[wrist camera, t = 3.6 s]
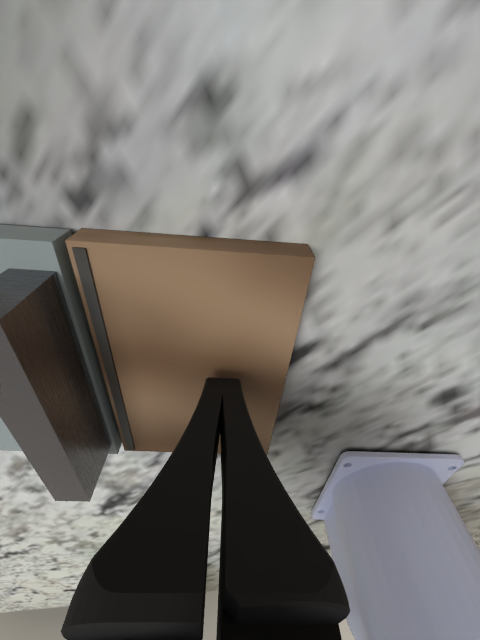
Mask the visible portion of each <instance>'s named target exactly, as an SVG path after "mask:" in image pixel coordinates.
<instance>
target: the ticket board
mask: <svg viewBox="0 0 480 640" xmlns="http://www.w3.org/2000/svg"><path fill="white" fill-rule="evenodd" d="M65 242H66V245H67V249H68V253H69V256H70V260H71V263H72V267H73V270H74V274H75V277H76V281H77V284H78V288H79V291H80V295H81V298H82V302H83V305H84V309H85V313H86V316H87V320H88V323H89V327H90V330H91V334H92V337H93V341H94V344H95V348H96V351H97V355H98V358H99V362H100V365H101V369H102V372H103V376H104V380H105V383H106V387H107V390H108V394H109V397H110V401H111V404H112V408H113V411H114V415H115V418H116V422H117V425H118V429H119V432H120V436H121V440H122V443H123V447H124V450H126V451H159V452H173V451H174V449H175V447H176V446H177V444H178V442H179V441H180V439H181V437H182V435H183V433H184V431H185V429H186V428H187V426H188V424H189V422H190V420H191V417H192V415H193V413H194V411H195V409H196V407H197V404H198V402H199V399H200V397H201V394H202V391H203V388H204V385H205V380H206V379H207V378H208V377H214V378H237V379H239V380H240V381H241V387H242V392H243V396H244V400H245V403H246V406H247V409H248V412H249V415H250V418H251V421H252V423H253V426H254V428H255V431H256V433H257V436H258V438H259V440H260V442H261V445H262V447H263V449H264V451H265V453H266V455H267V454H268V450H269V445H270V441H271V437H272V433H273V429H274V425H275V421H276V417H277V413H278V409H279V404H280V400H281V396H282V392H283V388H284V384H285V380H286V376H287V372H288V367H289V363H290V359H291V355H292V351H293V347H294V343H295V339H296V335H297V331H298V326H299V322H300V318H301V314H302V310H303V306H304V302H305V298H306V294H307V290H308V285H309V281H310V277H311V273H312V269H313V265H314V261H315V256H314V254H313V253H312V251H311V249H310V247H309V246H308V244H297V243H283V242H269V241H255V240H241V239H226V238H212V237H198V236H184V235H170V234H156V233H142V232H128V231H114V230H100V229H86V228H81V229H80V230H79V231H77V232H76V233H74V234H73V235H72V236H70V237H69V238H68V239H66V240H65ZM217 453H221V445H220V438H219V445H218V452H217Z"/></svg>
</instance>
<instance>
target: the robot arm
mask: <svg viewBox="0 0 480 640" xmlns="http://www.w3.org/2000/svg"><path fill="white" fill-rule="evenodd" d="M219 438H220V445H221V470H222V521H221V546H220V570H219V594H218V617H217V639H216V640H341V634H340V629H339V625H338V623H340V622H341V621H342V620H344V619H345V618H346V619H347V623H348V625H349V628H350V630H351V632H352V634H353V636H354V638H355V640H480V550H479V548H478V547H477V545H476V543H475V541H474V539H473V538H472V536H471V534H470V532H469V531H468V529H467V527H466V525H465V523H464V522H463V520H462V518H461V516H460V515H459V513H458V511H457V509H456V508H455V506H454V504H453V502H452V500H451V499H450V497H449V495H448V493H447V492H446V490H445V488H444V486H443V484H444V483H445V482H446V481H447V480H448V479H449V478H450V477H451V476H452V475H453V474H454V473H455V472H456V471H457V470H458V469H459V468H460V467H461V466H462V465H463V463H464V460H463V459H462V457H461V456H460V455H456V454H426V453H395V452H363V451H346V452H344V453H342V454H341V455H340V457H339V459H338V461H337V463H336V465H335V467H334V469H333V471H332V473H331V475H330V477H329V479H328V480H327V482H326V484H325V486H324V488H323V490H322V492H321V494H320V496H319V498H318V500H317V502H316V504H315V506H314V507H313V509H312V511H311V516H312V518H313V519H318V520H324V522H325V527H326V531H327V536H328V540H329V545H330V550H331V554H332V558H331V557H330V555H329V554H328V553H327V551H326V550H325V549H324V547H323V546H322V545H321V543H320V542H319V540H318V539H317V538H316V536H315V535H314V533H313V532H312V531H311V529H310V528H309V526H308V525H307V523H306V522H305V520H304V519H303V517H302V516H301V514H300V513H299V511H298V510H297V508H296V506H295V505H294V503H293V502H292V500H291V498H290V497H289V495H288V493H287V492H286V490H285V489H284V487H283V485H282V484H281V482H280V480H279V478H278V476H277V475H276V473H275V471H274V469H273V467H272V465H271V463H270V461H269V459H268V457H267V455H266V453H265V451H264V449H263V447H262V445H261V442H260V440H259V438H258V436H257V433H256V431H255V428H254V426H253V423H252V421H251V418H250V415H249V412H248V409H247V406H246V403H245V400H244V396H243V392H242V387H241V381H240V380H239V379H237V378H214V377H208V378H207V379H206V380H205V385H204V388H203V391H202V394H201V397H200V399H199V402H198V404H197V407H196V409H195V411H194V413H193V415H192V417H191V420H190V422H189V424H188V426H187V428H186V429H185V431H184V433H183V435H182V437H181V439H180V441H179V442H178V444H177V446H176V447H175V449H174V451H173V453H172V454H171V456H170V457H169V459H168V461H167V462H166V464H165V465H164V467H163V468H162V470H161V471H160V473H159V474H158V476H157V477H156V479H155V480H154V482H153V483H152V484H151V486H150V487H149V489H148V490H147V491H146V493H145V494H144V496H143V497H142V498H141V499H140V501H139V502H138V503H137V505H136V506H135V507H134V508H133V510H132V511H131V512H130V514H129V515H128V516H127V518H126V519H125V520H124V521H123V523H122V524H121V525H120V526H119V527H118V529H117V530H116V531H115V532H114V533H113V534H112V536H111V537H110V538H109V539H108V540H107V541H106V543H105V544H104V545H103V546H102V547H101V548H100V550H99V551H98V552H97V553H96V554H95V555H94V557H93V558H92V560H91V561H90V563H89V565H88V567H87V569H86V570H85V572H84V574H83V576H82V578H81V580H80V582H79V584H78V586H77V589H76V591H75V593H74V595H73V598H72V600H71V603H70V606H69V609H68V612H67V615H66V618H65V621H64V624H63V627H62V630H61V632H62V635H63V637H64V638H66V639H67V640H202V639H203V624H204V608H205V591H206V575H207V558H208V542H209V526H210V510H211V497H212V487H213V480H214V473H215V466H216V459H217V452H218V445H219Z"/></svg>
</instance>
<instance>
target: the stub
mask: <svg viewBox="0 0 480 640" xmlns="http://www.w3.org/2000/svg"><path fill="white" fill-rule="evenodd" d="M70 236H72V234H71V230H70V229H57V228H43V227H29V226H15V225H1V224H0V450H8V451H23V452H24V454H25V455H26V457H27V458H28V460H29V461H30V463H31V464H32V466H33V468H34V469H35V471H36V472H37V474H38V475H39V477H40V478H41V480H42V481H43V483H44V484H45V486H46V487H47V489H48V490H49V492H50V493H51V495H52V496H53V498H54V499H55V501H90V500H91V497H92V494H93V492H94V489H95V486H96V484H97V481H98V478H99V476H100V473H101V471H102V468H103V465H104V463H105V460H106V457H107V455H108V453H110V454H118V452H119V449H120V446H121V443H122V440H121V436H120V432H119V429H118V425H117V422H116V418H115V415H114V411H113V408H112V404H111V401H110V397H109V394H108V390H107V387H106V383H105V380H104V376H103V372H102V369H101V365H100V362H99V358H98V355H97V351H96V348H95V344H94V341H93V337H92V334H91V330H90V327H89V323H88V320H87V316H86V313H85V309H84V305H83V302H82V298H81V295H80V291H79V288H78V284H77V281H76V277H75V274H74V270H73V267H72V263H71V260H70V256H69V253H68V249H67V245H66V242H65V240H66V239H68V238H69V237H70Z"/></svg>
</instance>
